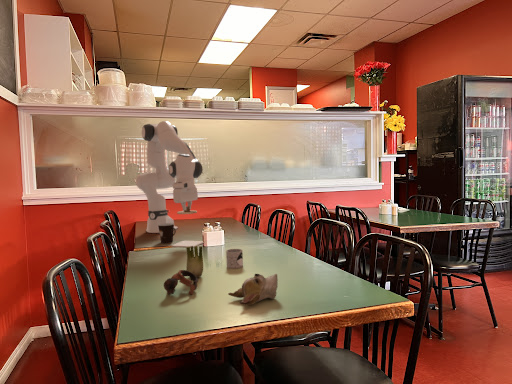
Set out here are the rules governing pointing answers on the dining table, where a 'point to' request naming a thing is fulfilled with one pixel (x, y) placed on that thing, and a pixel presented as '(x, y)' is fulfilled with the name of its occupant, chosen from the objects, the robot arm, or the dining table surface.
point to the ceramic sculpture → (257, 289)
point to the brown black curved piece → (181, 281)
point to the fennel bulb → (195, 261)
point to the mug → (234, 258)
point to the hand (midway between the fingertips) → (186, 210)
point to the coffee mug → (166, 232)
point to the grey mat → (187, 244)
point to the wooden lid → (187, 211)
